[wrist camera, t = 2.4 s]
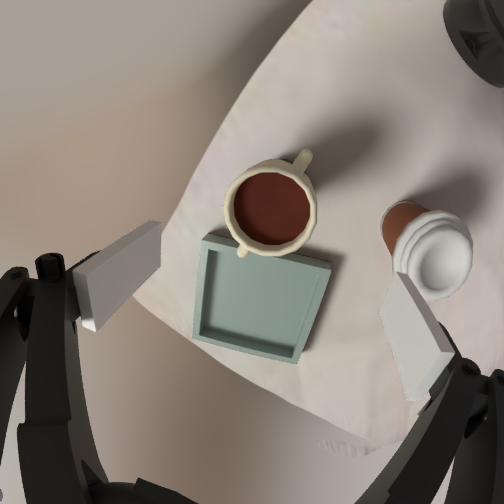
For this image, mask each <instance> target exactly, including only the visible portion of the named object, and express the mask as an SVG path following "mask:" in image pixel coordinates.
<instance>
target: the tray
mask: <svg viewBox="0 0 504 504" xmlns="http://www.w3.org/2000/svg"><path fill="white" fill-rule="evenodd" d="M239 245H240V243H238V242H237V241H236V240H235V239H231V238H226V237H222V236H218V235H213V234H209V233H208V234H207V235H206V236H205V237H204V238H203V239H202V240H201V249H200V258H199V267H198V277H197V287H196V298H195V310H194V323H193V336H192V338H194V339H197V340H200V341H204V342H207V343H211V344H214V345H218V346H221V347H225V348H229V349H233V350H236V351H240V352H244V353H248V354H252V355H256V356H261V357H265V358H269V359H274V360H278V361H283V362H288V363H292V364H297V363H298V360H299V358H300V355H301V353H302V350H303V348H304V345H305V343H306V340H307V338H308V335H309V333H310V330H311V327H312V325H313V322H314V320H315V317H316V314H317V311H318V309H319V306H320V303H321V300H322V298H323V295H324V292H325V289H326V286H327V283H328V280H329V277H330V274H331V271H332V269H331V264H330V262H328V261H324V260H320V259H316V258H312V257H307V256H303V255H299V254H295V253H288V254H285V255H282V256H261V255H258V254H256V253H253V252H251V251H250V252H249V254H248V255H247V256H245V257H244V258H242V257H239V256H238V254H237V248H238V247H239Z"/></svg>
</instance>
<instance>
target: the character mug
mask: <svg viewBox="0 0 504 504" xmlns="http://www.w3.org/2000/svg"><path fill="white" fill-rule="evenodd" d="M312 159H313V153H312V152H311V150H310V149H306V148H305V149H303V150H301V152H300V153H299V155H298V156H297V158H296V159H295V161H294V162H291V161H288V160H286V159H283V160H277V159H269V160H265V161H262V162H260V163H258V164H256V165H254V166H253V167H251V168H249V169H247V170H246V171H245V172H244V173H242V174H241V175H240V176H239V177H238V178H236V179H235V180H234V181H233V183H232V184H231V185H230V186H229V188H228V191H227V193H226V195H225V200H224V205H223V207H224V216H225V222H226V224H227V226H228V228H229V230H230V232H231V234H232V236H233V238H234V239H235V240H236V241H237V242H238V243H240V245H239V247H238V248H237V254H238V256H239V257H242V258H244V257H245V256H247V255H248V254H249V252H250V251H251V252H253V253H256V254H258V255H261V256H282V255H285V254H288V253H291V252H294V251H296V250H298V249H299V248H300V247H301V246H302V245H303V244H304V243H305V242H307V241H308V240H309V239H310V237H311V234H312V232H313V230H314V228H315V226H316V223H317V199H316V195H315V191H314V189H313V186H312V184H311V181H310V179H309V177H308V176H307V175H306V173H305V172H304V171H305V169H306V168H307V167H308V165H309V164H310V162H311V161H312Z"/></svg>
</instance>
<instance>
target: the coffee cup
mask: <svg viewBox="0 0 504 504" xmlns="http://www.w3.org/2000/svg"><path fill="white" fill-rule="evenodd" d="M380 228H381V235H382V237H383V239H384V241H385V243H386V245H387V247H388V249H389V251H390V254H391V256H392V267H393V275H395V273H396V272H401V273H405V274H408V276H409V277H410V279H411V280H412V282H413V283H414V285H415V286H416V288H417V289H418V291H419V292H420V294H421V295H422V297H423V298H424V300H425V301H430V300H435V301H436V300H440V299H443V298H447V297H449V296H450V295H452V294H453V293H454V292H456V291H457V290H459V288H460V287H461V286H462V284H463V283H464V282H465V281H466V279H467V277H468V275H469V272H470V270H471V267H472V259H473V241H472V238H471V235H470V232H469V230H468V227H467V225H466V224H465V223H464V222H463V221H462V220H461V219H460V218H459V217H458V216H457V215H455V214H453V213H449V212H446V211H442V210H435V211H431V210H428V209H426V208H424V207H421V206H419V205H416V204H415V203H412V202H408V201H402V202H397V203H395V204H394V205H392V206H391V207H389V208H388V209H387V211H386V212H385V214H384V215H383V217H382V221H381V225H380Z"/></svg>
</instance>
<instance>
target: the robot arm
mask: <svg viewBox="0 0 504 504" xmlns="http://www.w3.org/2000/svg"><path fill="white" fill-rule="evenodd" d="M443 17H444V23H445V26H446V29H447V32H448V34H449V37H450V39H451V41H452V43H453V45H454V46H455V48H456V50H457V51H458V53H459V54H460V56H461V57H462V58H463V60H464V61H465V62H466V63H467V65H468V66H469V67H470V68H471V69H472V70H473V71H474V72H475V73H476V74H477V75H478V76H480V77H481V78H482V79H483V80H485V81H486V82H488V83H490V84H492V85H494V86H496V87H500V88H504V0H447V1H446V3H445V5H444V9H443ZM161 225H162V222H157V221H153V220H149V221H147V222H146V223H144V224H142V225H141V226H139V227H137V228H136V229H134V230H133V231H131V232H129V233H128V234H126V235H125V236H123V237H121V238H120V239H118V240H117V241H115V242H114V243H112V244H111V245H109V246H107V247H106V248H104V249H103V250H100V251H97V252H94V253H92V254H90V255H89V256H87V257H86V258H85V259H82V260H81V261H80V262H78V263H77V264H75V265H74V266H72V267H71V268H69V269H68V270H66V271H65V265H64V258H63V255H61V254H59V253H47V254H44V255H41V256H40V257H38V258H37V259H36V260H35V264H36V270H37V275H38V279H33V278H29V273H28V269H27V268H25V267H15V268H14V267H13V268H11V269H10V270H8V271H7V272H6V273H5V274H4V275H3V276H2V278H1V279H0V465H1V459H2V454H3V449H4V443H5V437H6V432H7V427H8V422H9V418H10V413H11V409H12V405H13V401H14V397H15V394H16V390H17V387H18V383H19V380H20V377H21V373H22V371H23V368H24V365H25V361H26V374H25V422H24V423H19V425H18V427H17V442H18V454H19V462H20V470H21V477H22V483H23V488H24V493H25V498H26V503H27V504H198V503H196V502H194V501H192V500H190V499H188V498H187V497H185V496H183V495H181V494H179V493H178V492H176V491H173V490H170V489H167V488H164V487H161V486H158V485H156V484H153V483H151V482H148V481H145V480H143V479H141V478H138V479H137V481H136V483H135V484H134V483H125V482H110V483H109V481H108V478H107V476H106V474H105V472H104V469H103V468H102V465H101V463H100V460H99V458H98V454H97V450H96V446H95V443H94V439H93V435H92V430H91V426H90V422H89V417H88V412H87V406H86V401H85V395H84V389H83V383H82V376H81V367H80V358H79V349H78V335H77V325H76V321H75V320H76V319H77V318H78V317H79V316H81V320H82V324H83V327H86V328H88V329H90V330H92V331H95V332H97V331H98V330H99V329H100V328H101V327H102V326H103V325H104V323H105V322H106V321H107V320H108V319H109V318H110V317H111V316H112V315H113V314H114V313H115V312H116V311H117V310H118V309H119V307H121V306H122V304H124V302H125V301H126V300H127V299H128V298H129V297H130V296H131V295H132V294H133V293H134V292H135V291H136V290H137V289H138V288H139V287H140V286H141V285H142V284H143V283H144V282H145V281H146V280H147V279H148V278H149V277H150V276H151V275H152V274H153V273H154V272H155V271H156V270H157V269H158V268H159V267H160V262H161V227H162V226H161ZM14 315H15V316H14ZM379 315H380V317H381V320H382V323H383V326H384V328H385V331H386V334H387V337H388V340H389V343H390V346H391V349H392V352H393V355H394V358H395V361H396V365H397V368H398V371H399V374H400V378H401V381H402V385H403V388H404V392H405V395H406V399H407V401H421V400H422V399H423V398H424V396H425V395H426V394H427V393H428V391H429V393H430V396H431V398H430V400H429V401H428V402H427V403H426V405H425V406H424V407H423V408H422V409H421V410H420V412H419V413H418V415H420V416H419V417H418V419H417V421H416V422H415V424H414V426H413V427H412V429H411V430H410V432H409V433H408V435H407V437H406V438H405V440H404V441H403V443H402V444H401V446H400V447H399V449H398V450H397V451H396V453H395V454H394V456H393V457H392V459H391V460H390V461H389V462H388V464H387V465H386V467H385V468H384V469H383V470H382V472H381V473H380V474H379V475H378V477H377V478H376V479H375V481H374V482H373V483H372V484H371V485H370V487H369V488H368V489H367V490H366V491H365V492H364V494H363V495H362V496H361V497H360V498H359V499H358V500H357V501H356V502H355V504H431V502H432V500H433V499H434V497H435V495H436V493H437V491H438V489H439V487H440V485H441V483H442V482H443V480H444V478H445V476H446V474H447V472H448V469H449V467H450V465H451V463H452V461H453V458H454V456H455V458H454V464H453V469H452V474H451V479H450V483H449V487H448V491H447V495H446V499H445V502H444V504H504V371H503V370H500V369H495V370H494V371H493V373H492V374H491V376H490V377H488V376H485V375H481V371H480V369H479V367H478V366H477V364H476V363H474V362H473V361H472V360H470V359H468V358H462V356H461V354H460V352H459V351H458V349H457V347H456V345H455V343H454V342H453V340H452V338H451V336H450V335H449V333H448V331H447V330H446V328H445V327H444V326H443V325H442V324H441V323H440V322H439V321H437V320H436V318H435V316H434V315H433V313H432V311H431V310H430V308H429V306H428V305H427V303H426V302H425V300H424V298H423V297H422V295H421V294H420V292H419V291H418V289H417V288H416V286H415V285H414V283H413V282H412V280H411V279H410V277H409V276H408V274H405V273H401V272H396V273H395V275H394V278H393V280H392V283H391V285H390V288H389V290H388V293H387V295H386V298H385V300H384V303H383V305H382V307H381V310H380V312H379ZM486 417H487V418H486ZM485 419H486V420H485ZM2 498H3V494H2V491H1V489H0V501H1V500H2Z"/></svg>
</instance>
